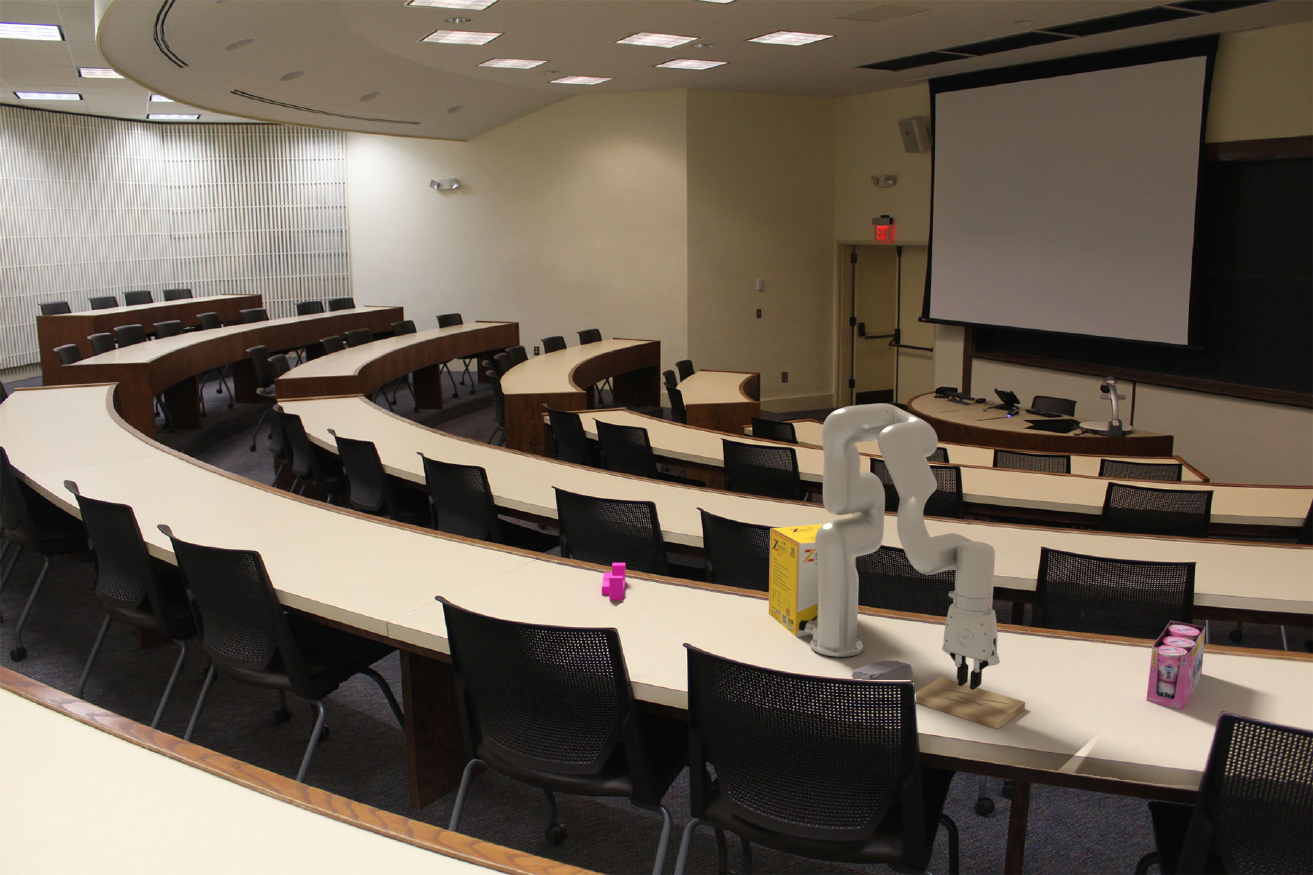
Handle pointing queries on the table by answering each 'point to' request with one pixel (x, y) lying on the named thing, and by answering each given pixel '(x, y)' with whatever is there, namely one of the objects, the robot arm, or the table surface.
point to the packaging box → (794, 577)
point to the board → (969, 702)
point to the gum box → (1176, 664)
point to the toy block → (614, 582)
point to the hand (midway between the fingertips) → (968, 685)
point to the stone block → (884, 671)
